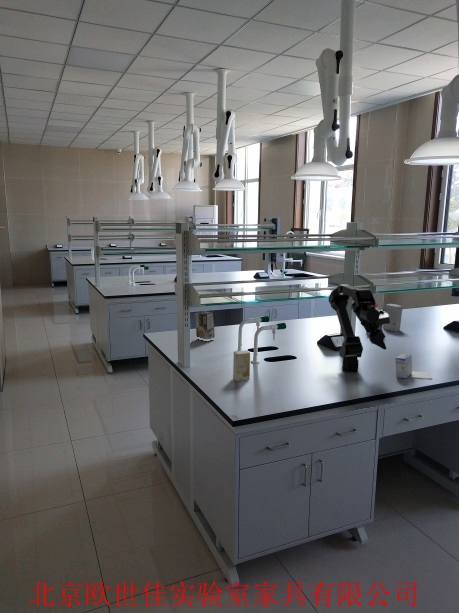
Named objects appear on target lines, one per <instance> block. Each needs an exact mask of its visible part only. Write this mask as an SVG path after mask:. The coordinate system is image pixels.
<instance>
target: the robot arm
mask: <svg viewBox="0 0 459 613" xmlns="http://www.w3.org/2000/svg"><path fill="white" fill-rule="evenodd" d="M350 297H351V301H353V302H352V304H351V307H350V308H351V309H352V311H353V313H354V314H355V316H356V318H357V319H358V321H359V322H361V323H360V324H361V326H362V327H363V328H364V330H365V333H366V332H367V333H368V332H369V333H370V334H369V335H368V339H369V341H370V343H371V345H376V346H377V347H379V348H381V349H383V351H384V350H387V346H386V344H385V338H386V333H384V330H383V331H382V330H380V329H378V328H379V327H380V325H383V324H389V323H390V318H389V315H388V313H386V312H385V311H384V310H383V309H378V310H379V311H378V310H376V309H375V306H376V304H377V303H376V304H375V302H376V299H375V297H374V294H373V292H372V289H370V288H358V287H355V286H351V285H350V284H347V283H346V284H345V283H344V284H339V285H337V287H336V288H334V289H333V290H332V291H331V292H330V294H329V295H328V302H329V305H330V306H331V309H332V310H334V311H335V313H336V315H337V316H336V317H337V318H338V322H339V327H340V329H341V334H342V336H343V341H342V343H341V348H339V350H338V354H339V356H340V357H341V358H342V365H341V370H342V372H352V373H353V372H354V373H358V370H359V361H360V360H359V359H358V358H362V355H363V351H364V346H363V343H362V342H361V338H360V336H359V335H358V336H357V335H355V332H354V330H353V326H352V322H351V319H350V316H349V313H348V310H347V307H348V304H349V300H350Z"/></svg>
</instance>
